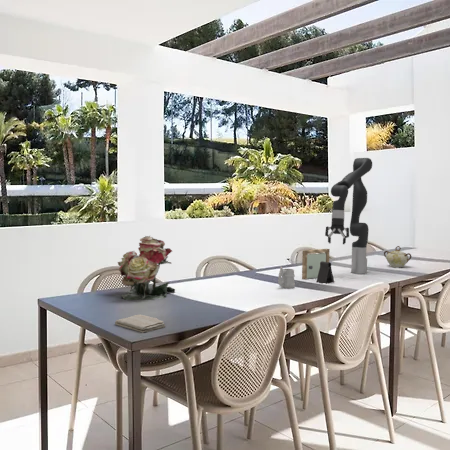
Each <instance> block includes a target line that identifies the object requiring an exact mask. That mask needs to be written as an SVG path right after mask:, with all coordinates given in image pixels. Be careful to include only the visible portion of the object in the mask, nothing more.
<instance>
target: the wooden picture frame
mask: <svg viewBox="0 0 450 450" xmlns="http://www.w3.org/2000/svg"><path fill="white" fill-rule="evenodd" d="M319 253H326V262H330V248H317V249H303V250H302V257H301V258H302V260H301V261H302V263H301V264H302V266H301V279H302V280H308V279H307V254H319Z"/></svg>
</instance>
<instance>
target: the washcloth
mask: <svg viewBox="0 0 450 450" xmlns="http://www.w3.org/2000/svg"><path fill="white" fill-rule="evenodd" d="M114 325H115V326H118V327H123V328H126V329H130V330H133V331H136V332H140V333H142V334H144V333H147V332H148V333H149V332H152V331H156V330H160V329H163V328H166V324H165V323H164V320H161V319H158V318H157V317H151V316H149V315H144V314H141V313H140V314H135V315H131V316H129V317H123V318H120V319H116V320H115V322H114Z"/></svg>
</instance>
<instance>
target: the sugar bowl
mask: <svg viewBox="0 0 450 450" xmlns="http://www.w3.org/2000/svg"><path fill="white" fill-rule="evenodd" d="M398 248H399V249H398ZM401 249H402V248H401V247H400V245H397V246H396V247H395V249H394V250H392V251H388V250H385V251H384V252H383V255H384V257H385V259H386V261H387V263H388V264H389V266H390V267H391V268H395V267H402V268H404V266H406V264H408V263H409V261H410V260H411V259H412V254H411V253H409V252H408V253H406V252H404V251H402V250H401ZM386 253H387V254H386Z"/></svg>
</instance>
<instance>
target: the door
mask: <svg viewBox="0 0 450 450" xmlns="http://www.w3.org/2000/svg"><path fill="white" fill-rule="evenodd" d="M322 261H323V262H326V253H311V254H307V279H306V280H309V279H317V277H318V273H319V269H320V262H322Z"/></svg>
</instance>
